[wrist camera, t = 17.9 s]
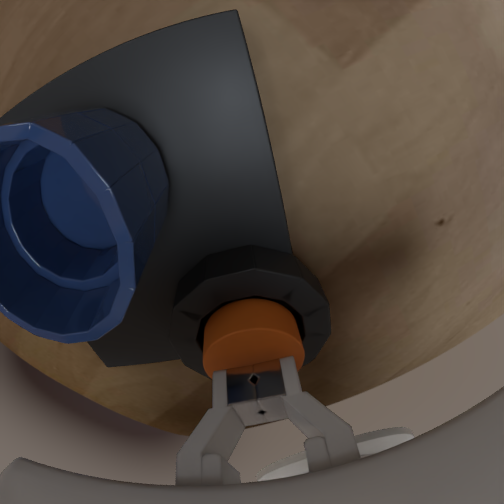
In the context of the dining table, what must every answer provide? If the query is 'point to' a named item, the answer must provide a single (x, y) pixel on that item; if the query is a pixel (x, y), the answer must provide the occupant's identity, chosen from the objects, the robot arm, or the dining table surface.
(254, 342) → the button
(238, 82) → the scale
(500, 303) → the dining table surface
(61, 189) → the cup
